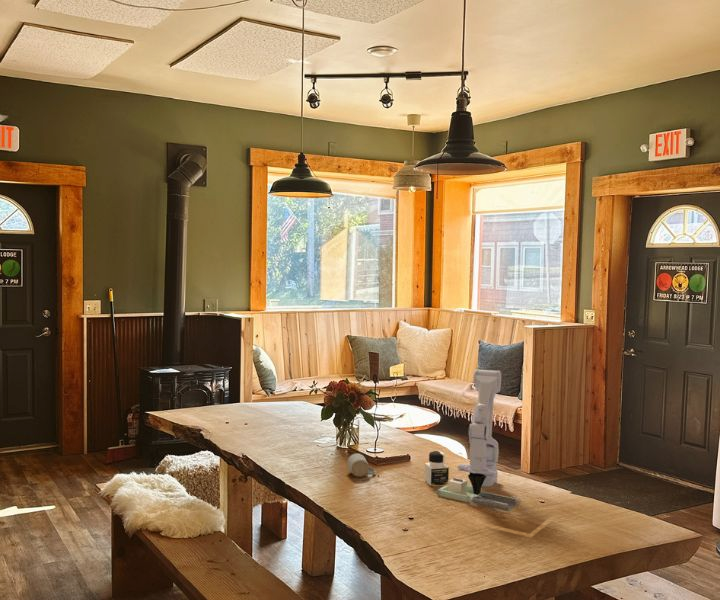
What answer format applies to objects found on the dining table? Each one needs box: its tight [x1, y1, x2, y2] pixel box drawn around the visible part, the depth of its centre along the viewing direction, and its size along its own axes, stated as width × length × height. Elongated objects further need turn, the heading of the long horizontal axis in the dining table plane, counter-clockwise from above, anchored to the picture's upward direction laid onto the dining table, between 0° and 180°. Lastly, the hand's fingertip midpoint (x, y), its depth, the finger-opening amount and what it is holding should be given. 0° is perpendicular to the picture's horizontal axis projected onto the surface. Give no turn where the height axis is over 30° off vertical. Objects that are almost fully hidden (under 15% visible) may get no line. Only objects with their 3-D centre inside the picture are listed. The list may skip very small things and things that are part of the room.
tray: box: [436, 484, 483, 503], centre depth 271 cm, size 12×12×3 cm
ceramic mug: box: [346, 453, 376, 478], centre depth 295 cm, size 11×8×8 cm
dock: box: [467, 490, 521, 512], centre depth 263 cm, size 12×15×2 cm
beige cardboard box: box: [448, 477, 468, 495], centre depth 271 cm, size 5×5×6 cm
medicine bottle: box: [424, 450, 450, 487], centre depth 286 cm, size 7×7×12 cm
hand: (476, 493), depth 267 cm, fingers closed
